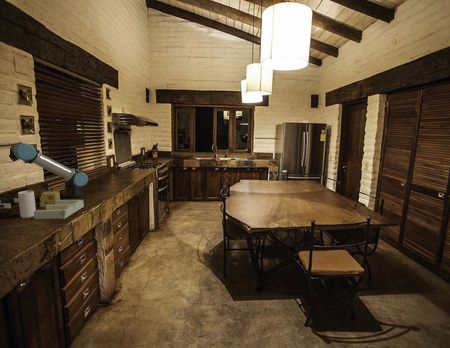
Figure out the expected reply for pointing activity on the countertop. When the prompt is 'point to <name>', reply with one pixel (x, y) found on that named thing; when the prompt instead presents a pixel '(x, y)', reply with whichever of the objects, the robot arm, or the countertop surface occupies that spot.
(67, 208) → the tray
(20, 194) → the cup
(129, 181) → the countertop surface
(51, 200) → the cheese
